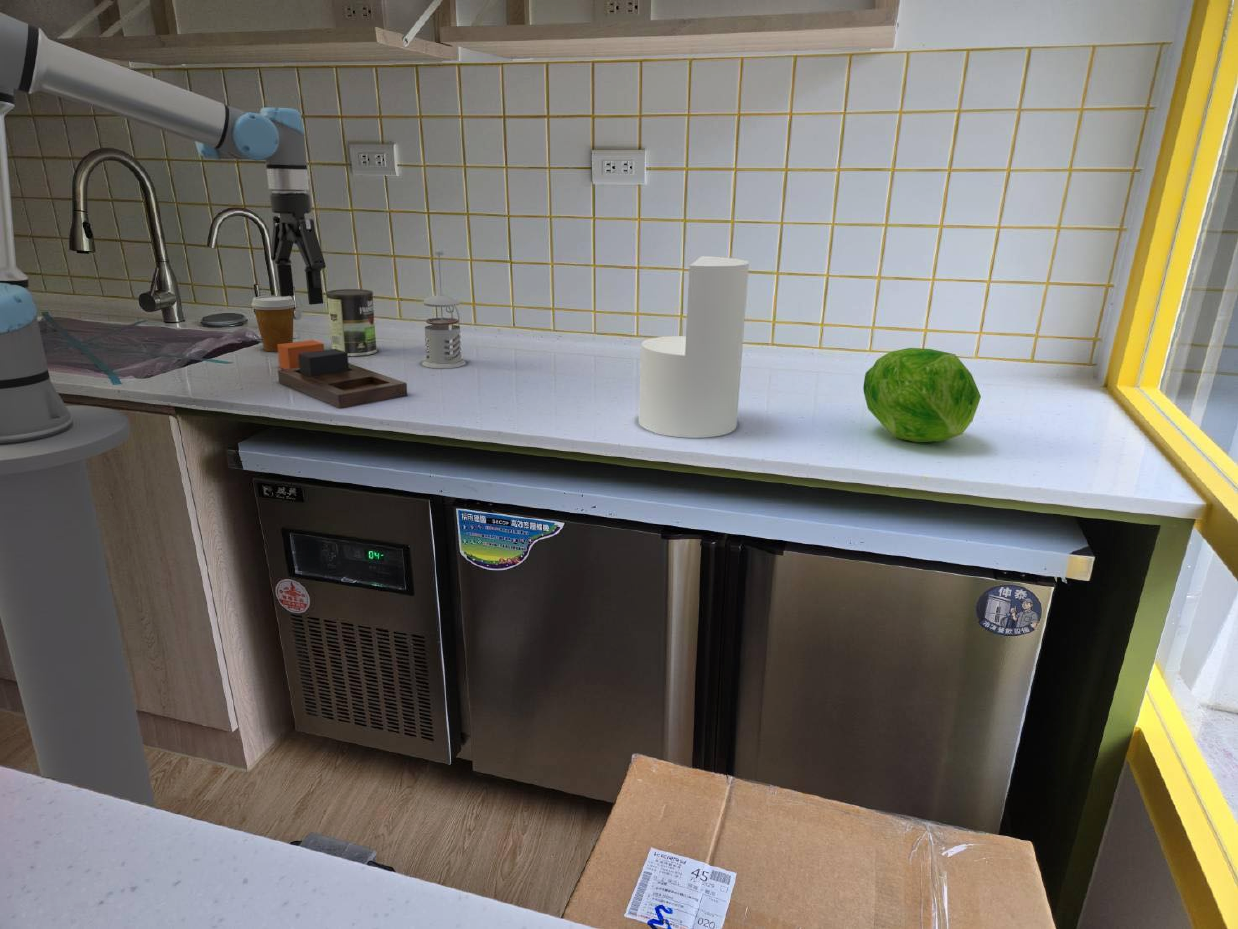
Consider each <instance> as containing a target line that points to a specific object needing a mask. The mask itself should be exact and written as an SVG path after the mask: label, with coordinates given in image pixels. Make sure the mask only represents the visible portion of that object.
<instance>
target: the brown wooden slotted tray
mask: <svg viewBox="0 0 1238 929" xmlns="http://www.w3.org/2000/svg"><path fill="white" fill-rule="evenodd" d="M348 365H349V371H345V372H339V373H332V374H326V375H319V376H313V377H307V376H305V375H302V374H300V367H299V368H292V369H278V370H277V376H278V383H279V384H281V385H283V386H286V387H288V388H290V389H293V390H294V391H295V390H296V391H298V392H300V393H302V394H304V395H307V396H310V397H312V398H315V399H317V400H318V401H321V402H324V403H327V404H329V405H330V406H331V405H332V406H334V407H336V408H337V409H343V408H348V407H352V406H353V407H354V406H358V405H364V404H365V405H366V404H370V403H376V402H381V401H385V400H390V399H391V400H392V399H398V398H401V397H406V396H407V397H408V384H407V382H405V381H402V380H399V379H396V378H393V377H391V376H387V375H384V374H381V373H379V372H376V371H373V370H371V369H367V368H364V367H361V366H358V365H355V364H352V363H349V362H348Z"/></svg>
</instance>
